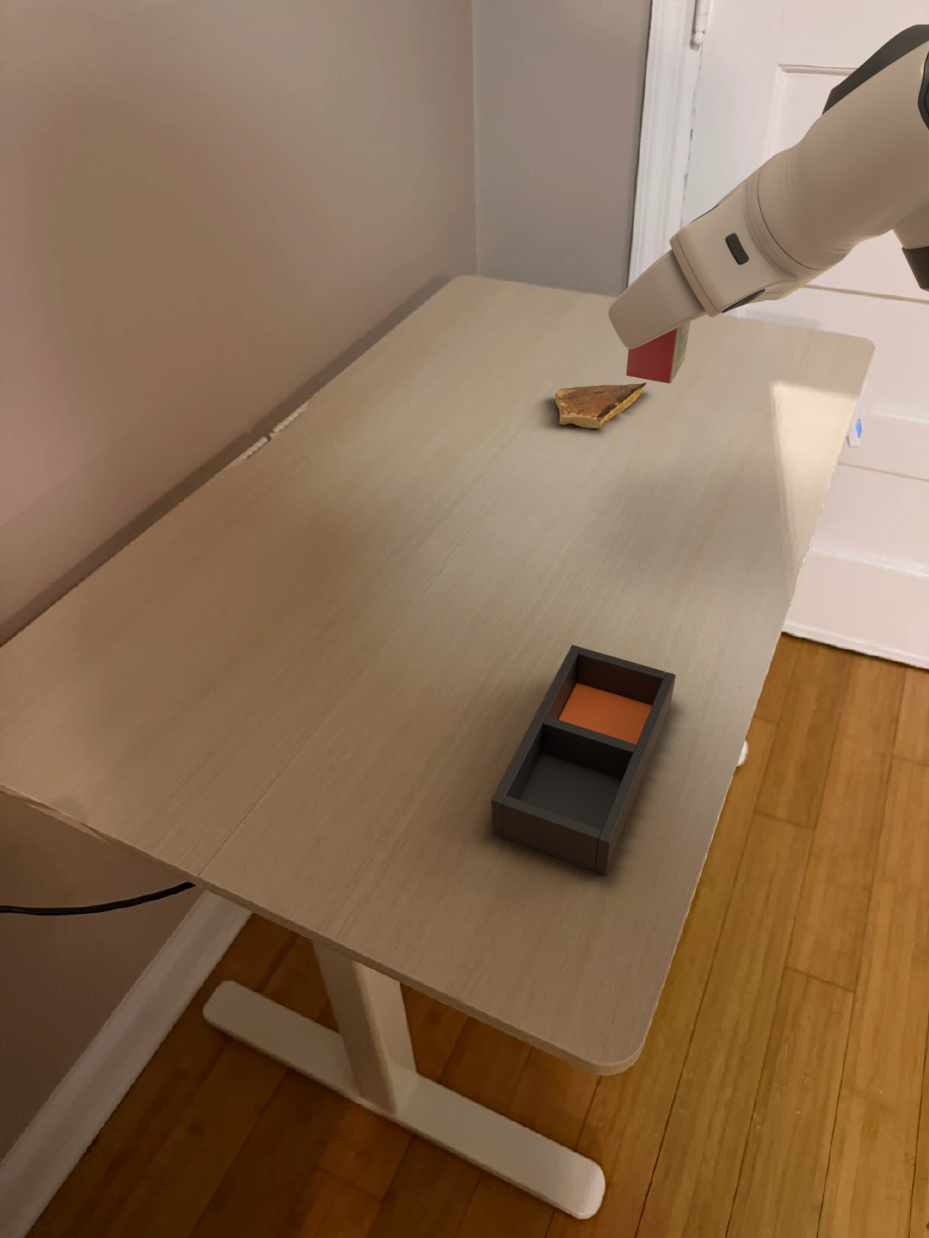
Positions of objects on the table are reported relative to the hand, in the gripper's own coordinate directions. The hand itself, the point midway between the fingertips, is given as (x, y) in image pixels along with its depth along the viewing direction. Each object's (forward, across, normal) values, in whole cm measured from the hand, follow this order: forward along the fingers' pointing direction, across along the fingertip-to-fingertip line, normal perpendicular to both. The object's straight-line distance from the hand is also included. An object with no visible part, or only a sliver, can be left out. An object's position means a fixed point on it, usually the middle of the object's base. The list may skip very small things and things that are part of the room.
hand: (655, 320), depth 78 cm
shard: (+24, -10, +3) cm, 26 cm away
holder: (0, +29, +27) cm, 40 cm away
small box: (+3, 0, +4) cm, 5 cm away
